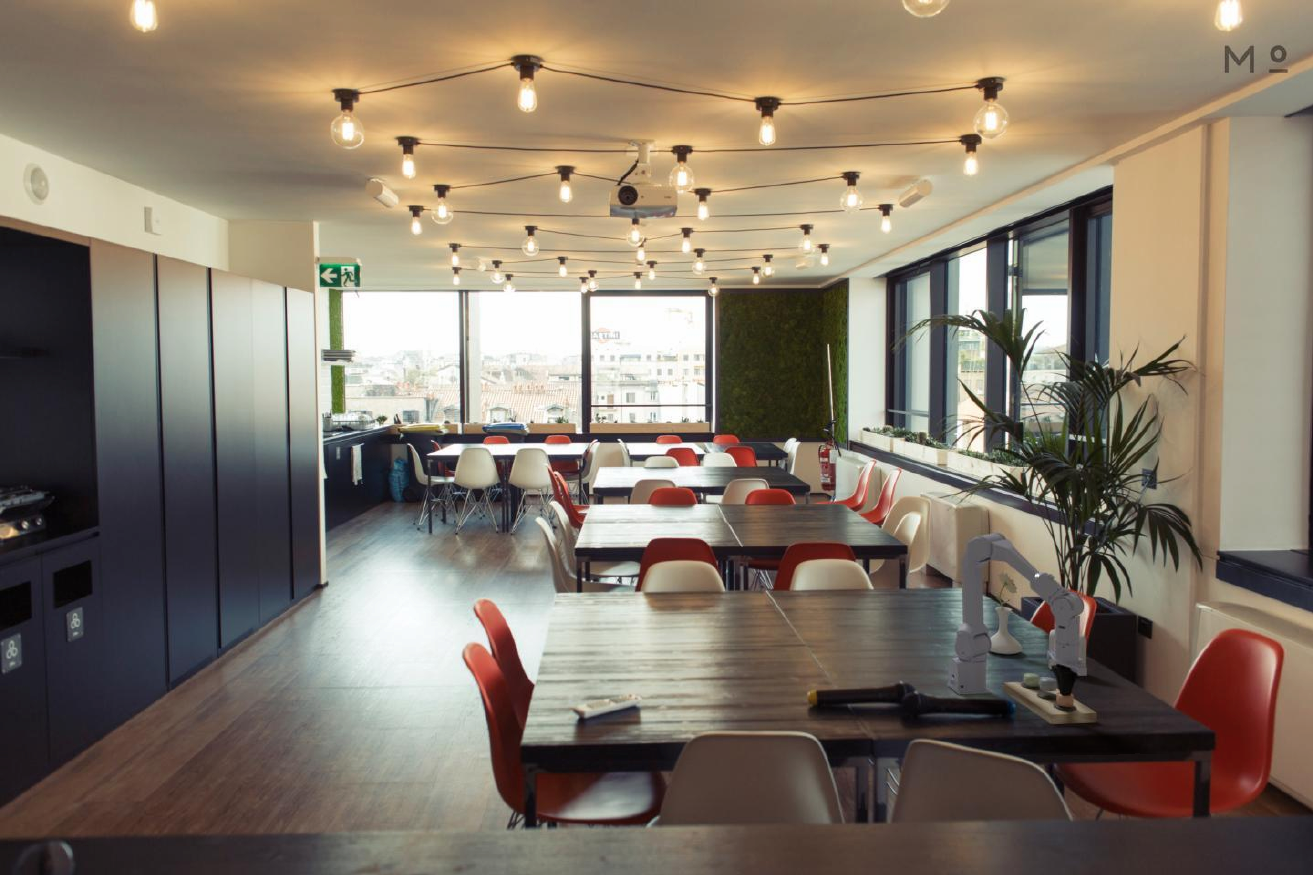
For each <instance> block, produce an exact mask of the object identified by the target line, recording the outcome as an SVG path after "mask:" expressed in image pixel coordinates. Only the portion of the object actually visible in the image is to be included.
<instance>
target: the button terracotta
mask: <svg viewBox="0 0 1313 875" xmlns="http://www.w3.org/2000/svg"><path fill="white" fill-rule="evenodd" d="M1074 699H1075V695H1074V694H1073V693H1071V695H1070V696H1063V695H1061V694H1060V692H1058V693H1057V697H1056V703H1057V704H1058V705H1060V706H1064V707H1072V706H1074Z"/></svg>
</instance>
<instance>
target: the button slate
mask: <svg viewBox="0 0 1313 875" xmlns="http://www.w3.org/2000/svg"><path fill="white" fill-rule="evenodd" d="M1056 688H1057V679H1056V678H1053V677H1049V676H1048V677H1047V676H1042V677H1041V676H1040V689H1042V690H1045V691H1056Z"/></svg>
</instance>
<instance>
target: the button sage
mask: <svg viewBox="0 0 1313 875" xmlns="http://www.w3.org/2000/svg"><path fill="white" fill-rule="evenodd" d="M1040 678H1041V676H1040V675H1039V674H1036V673H1031V672H1027V673H1024V674H1023V682H1024V684H1025V685H1027V686H1031V687H1038V686H1040Z"/></svg>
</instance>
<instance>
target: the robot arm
mask: <svg viewBox="0 0 1313 875" xmlns="http://www.w3.org/2000/svg"><path fill="white" fill-rule="evenodd" d="M990 561H995V562H1004V563H1006V564H1008V565H1009V566H1010V567H1011V568H1013V569H1014V570H1015V571H1016V572H1017V573H1019V574H1020V575H1021V576H1022V577H1024V579H1026V580H1027V581H1028V582H1029V586H1030V589H1031V590H1032V591H1033V592H1034V593H1035V594H1036V595H1037V596H1038V597H1039V598H1040V599H1042V600H1043V601H1044V602H1045V603H1046V604H1047V605H1049V606H1050V611H1051V613H1052V615H1053V617H1054V630H1055V638H1054V651H1049V650H1047V651H1046V658H1047V659H1048V660H1049V659H1052V660H1053V661H1054V662H1055V663H1057V664H1056V665H1052V666H1051V668H1052V669H1051V670H1052V672H1053V674H1054V677H1055V679H1056V684H1057V685H1058V686H1057V687H1058V689H1059V691H1060V694H1061V695H1063V696H1070V695H1071V694H1072V692H1073V689H1074V686H1075V683H1076V681H1077V680H1078V678H1079V677H1084V676H1085V677H1086V676H1087V675H1088V672H1087V670H1088V668H1087V666H1086V667H1084V666H1083V664H1082V663H1081V662H1083V659H1081V658H1079V634H1080V631H1081V630H1080V629H1081V628H1080V627H1081V626H1080V625H1081V624H1080V622H1081V614H1083V612H1084V610H1085V603H1084V600H1083V599H1082V598H1081V596H1080V595H1079V594H1078V593H1077V592H1070V590H1069V589H1068V588H1067V587H1064V586H1063V585H1062V584H1060V583H1059V582H1058V581H1057V580H1056V579H1055V576H1054V575H1053V574H1052V573H1050V574H1049V573H1047V572H1040V571H1039V570H1037V568H1036V567H1035V566H1034V565H1033V564H1031V563H1030V562H1029V560H1027V559H1026V557H1025V556H1023V555H1022V554H1021V553H1020V551H1018V549H1017V548H1015V546H1014V545H1013V542H1012V541H1011V540H1010V539H1009V538H1006V536H1005V535H1004V534H1003V533H1000V532H992V533H989V534H983V535H976V536H973V537H972V538H970V540H968V541H967V542H966V548H965V551H964V553H963V554H962V557H961V562H960V563H961V568H960V569H961V613H962V618H961V619H962V623H961V624H960V626H959V627H958V629H957V630H956V638H955V640H954V642H953V649H954V652H955V654H956V656H957V657H955V658H951V659H949V662H948V676H947V677H948V681H947V682H948V683H947V684H946V685H947V687H949V688H950V689H952V691H954V692H955V693H956V694H958V695H960V694H962V695H984V694H992V693H993V691H992V690H990V689H989V688H988V687H986V686H987V657H988V653H989V652H991V651H990V650H991V647H992V641H991V639H990V634H989V628H988V626H987V625H985V623H984V587H983V586H984V581H983V579H984V578H983V577H984V576H983V575H984V574H983V567H984V566H985V565H987V564H988V563H989V562H990Z"/></svg>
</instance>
